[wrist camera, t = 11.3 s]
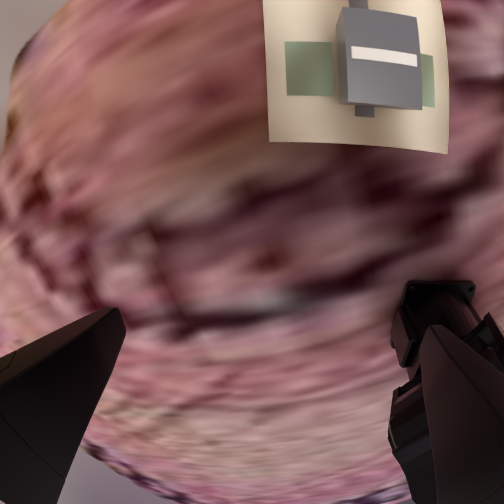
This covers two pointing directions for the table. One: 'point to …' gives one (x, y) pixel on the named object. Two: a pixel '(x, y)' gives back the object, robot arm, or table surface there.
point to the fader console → (327, 81)
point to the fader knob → (378, 59)
